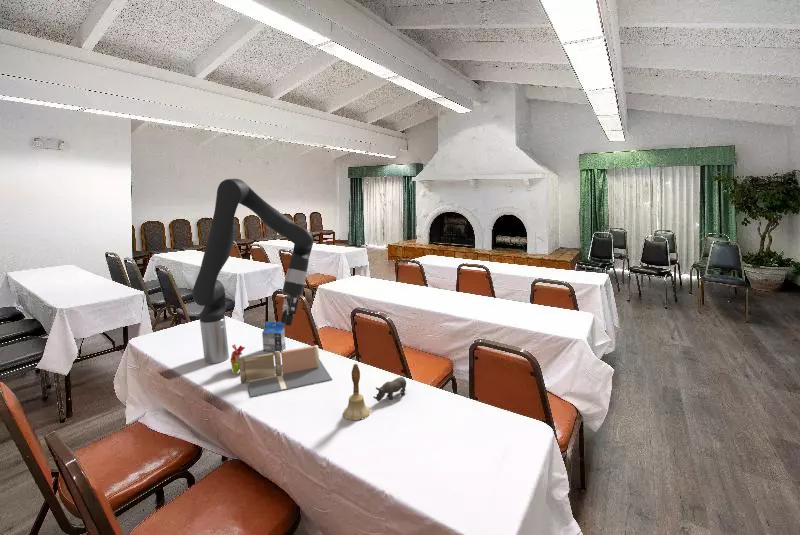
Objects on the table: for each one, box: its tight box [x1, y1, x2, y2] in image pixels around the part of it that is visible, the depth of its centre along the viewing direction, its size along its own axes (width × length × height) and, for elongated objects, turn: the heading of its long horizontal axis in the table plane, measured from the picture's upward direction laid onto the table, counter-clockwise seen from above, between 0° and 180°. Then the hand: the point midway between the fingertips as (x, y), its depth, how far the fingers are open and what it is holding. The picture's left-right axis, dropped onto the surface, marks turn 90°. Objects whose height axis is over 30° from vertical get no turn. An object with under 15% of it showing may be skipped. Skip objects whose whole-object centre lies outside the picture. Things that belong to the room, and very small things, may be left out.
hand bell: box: [342, 363, 371, 421], centre depth 123 cm, size 8×8×16 cm
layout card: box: [247, 358, 333, 398], centre depth 150 cm, size 21×28×1 cm
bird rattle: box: [230, 344, 246, 375], centre depth 154 cm, size 6×11×9 cm
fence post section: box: [239, 351, 282, 384], centre depth 147 cm, size 2×14×9 cm, turn 115°
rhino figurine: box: [373, 376, 407, 402], centre depth 133 cm, size 4×14×6 cm, turn 129°
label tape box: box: [261, 321, 287, 352], centre depth 174 cm, size 9×4×12 cm, turn 80°
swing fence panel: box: [280, 344, 320, 374], centre depth 152 cm, size 2×14×8 cm, turn 115°
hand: (285, 324), depth 152 cm, fingers open, 8 cm apart
